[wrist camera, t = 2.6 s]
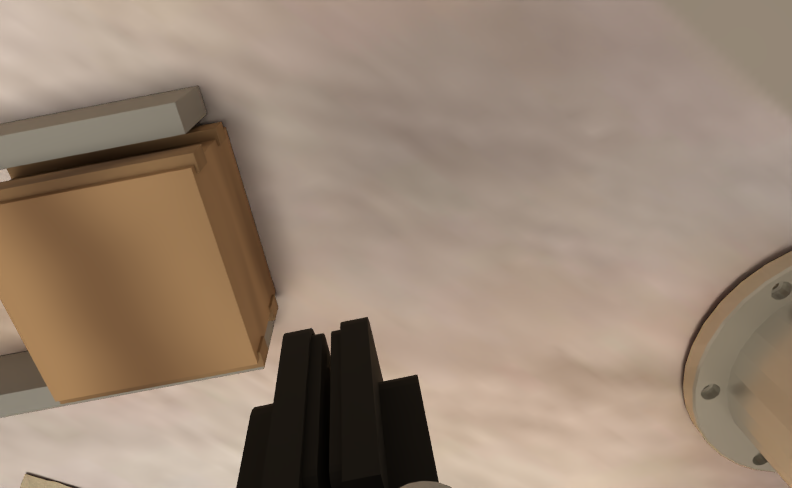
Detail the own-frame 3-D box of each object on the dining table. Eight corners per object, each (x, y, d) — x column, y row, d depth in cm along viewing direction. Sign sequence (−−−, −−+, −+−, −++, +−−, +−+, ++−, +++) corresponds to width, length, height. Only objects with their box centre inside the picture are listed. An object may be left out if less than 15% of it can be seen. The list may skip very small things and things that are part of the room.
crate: (225, 117, 21) (190, 155, 17) (280, 298, 24) (263, 371, 20) (31, 154, 21) (-56, 202, 17) (111, 329, 25) (57, 410, 20)
